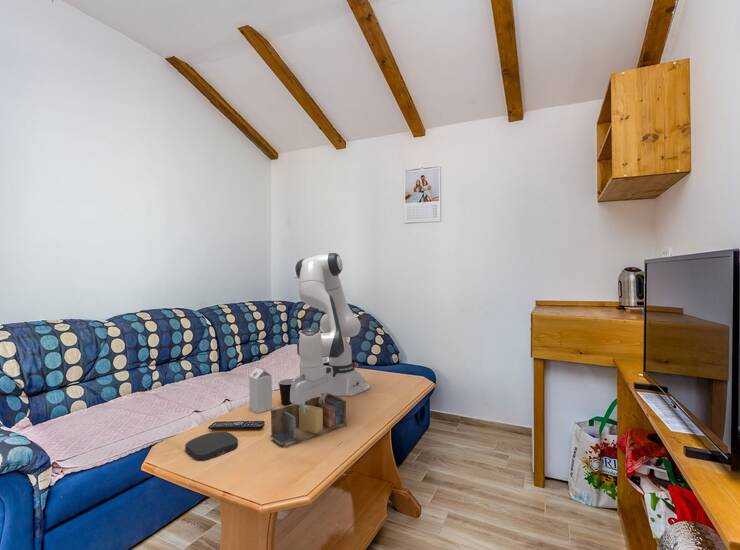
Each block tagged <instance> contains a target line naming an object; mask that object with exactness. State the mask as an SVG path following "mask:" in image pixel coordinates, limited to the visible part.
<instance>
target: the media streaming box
mask: <svg viewBox="0 0 740 550" xmlns="http://www.w3.org/2000/svg"><path fill="white" fill-rule="evenodd" d="M238 446H239V440H238V438H237V437H236V436H235V435H234V434H232V433H231V432H228V431H213V432H209V433H205V434H202V435H200V436H199V435H198V436H197V437H194V438H192V439H190V440H188V441H187V442H186V443H185V445H184V448H185V452H186V454H187V455H188V456H190V457H191V458H193V459H194V460H196V461H200V462H202V461H208V460H211V459H214V458H216V457H220V456H222V455H224V454H227V453H229V452H231V451H235V450H236V449H237V448H238Z"/></svg>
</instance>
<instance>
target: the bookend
mask: <svg viewBox="0 0 740 550" xmlns="http://www.w3.org/2000/svg"><path fill="white" fill-rule="evenodd" d="M269 437H270V438H271V439H272V440H274V441H275V442H276V443H277V444H279V445H281V446H283V445H282V444H285V443H288V442H290V441H293V440H296V421H295V417H294V416H293V415H291V414H289V413H287V412H286V411H283V431H282V432H279V433H276V434H273V435H270V436H269Z"/></svg>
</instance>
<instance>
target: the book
mask: <svg viewBox="0 0 740 550" xmlns="http://www.w3.org/2000/svg"><path fill="white" fill-rule="evenodd" d="M304 406H305V407H306V408H307V412H306V413H304V414H303V413H301V408H299V429H300V430H304V431H308V432H313V433H318V432H319V431H321V430H322V429H323V409H322V408H319V407H314V406H309V405H304Z"/></svg>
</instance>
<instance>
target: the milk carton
mask: <svg viewBox="0 0 740 550" xmlns="http://www.w3.org/2000/svg"><path fill="white" fill-rule="evenodd" d="M272 380H273V379H272V375H271V374H270V373H269V372H268V371H266V370H265V367H264V366H260V365H255V368H254V369H253V371H251V372H250V374H249V375H248V381H249V382H248V386H249V388H248V389H249V410H250V411H252V412H254V413H256V414H261V413H263V412H267V411H269V410H270V411H271V410H273V387H272V386H273V383H272Z"/></svg>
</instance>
